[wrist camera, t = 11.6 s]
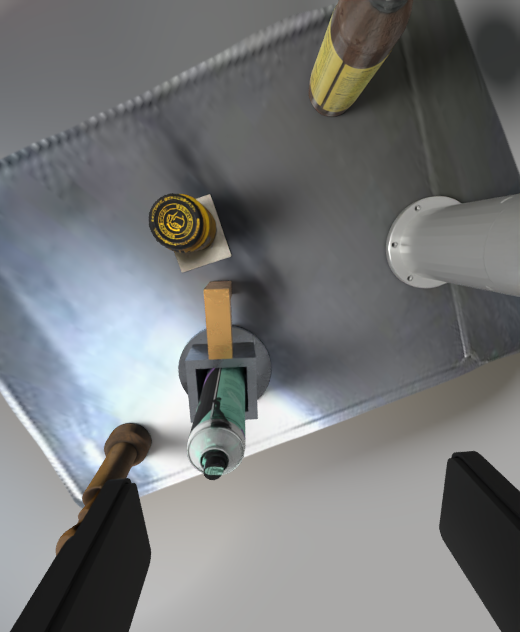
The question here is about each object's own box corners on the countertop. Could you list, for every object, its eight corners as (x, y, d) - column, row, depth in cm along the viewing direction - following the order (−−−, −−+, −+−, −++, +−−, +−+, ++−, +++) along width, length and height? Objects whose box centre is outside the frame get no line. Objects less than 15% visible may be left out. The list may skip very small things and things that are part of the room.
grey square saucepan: (269, 279, 41) (274, 287, 35) (271, 405, 47) (276, 433, 40) (171, 282, 41) (156, 291, 34) (184, 410, 46) (174, 439, 39)
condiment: (210, 194, 38) (196, 174, 27) (231, 256, 40) (227, 262, 29) (158, 212, 38) (122, 199, 27) (182, 272, 41) (158, 284, 29)
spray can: (203, 358, 43) (171, 454, 24) (239, 349, 43) (235, 437, 23) (214, 390, 44) (191, 505, 25) (248, 381, 44) (252, 489, 25)
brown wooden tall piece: (134, 464, 48) (73, 590, 31) (101, 442, 47) (18, 562, 29) (159, 438, 47) (111, 553, 30) (127, 415, 46) (55, 522, 28)
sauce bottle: (365, 84, 36) (506, -96, 17) (334, 130, 37) (434, 10, 18) (325, 47, 35) (428, -193, 16) (295, 96, 36) (355, -72, 17)
